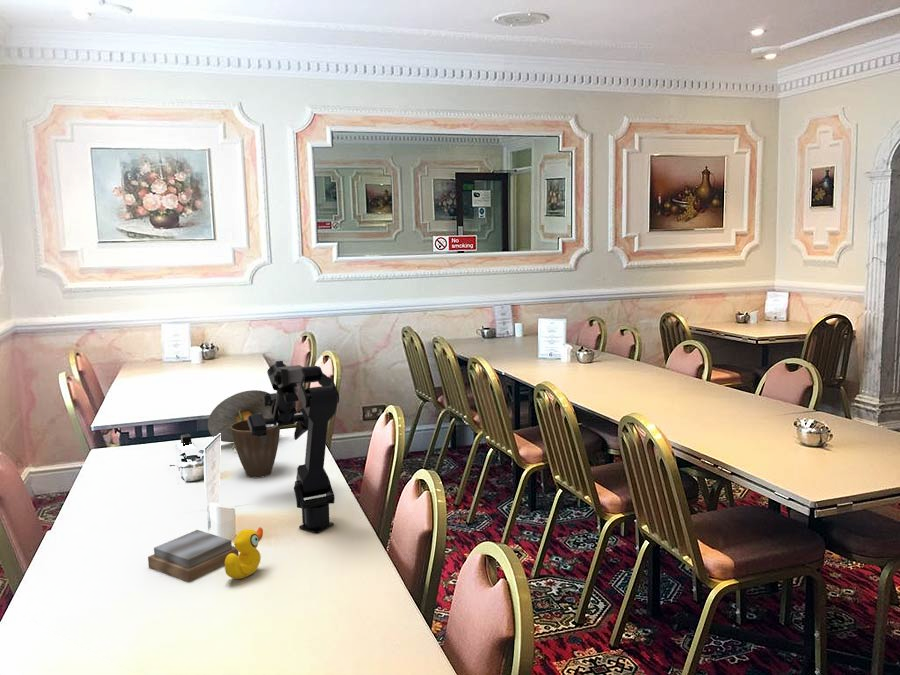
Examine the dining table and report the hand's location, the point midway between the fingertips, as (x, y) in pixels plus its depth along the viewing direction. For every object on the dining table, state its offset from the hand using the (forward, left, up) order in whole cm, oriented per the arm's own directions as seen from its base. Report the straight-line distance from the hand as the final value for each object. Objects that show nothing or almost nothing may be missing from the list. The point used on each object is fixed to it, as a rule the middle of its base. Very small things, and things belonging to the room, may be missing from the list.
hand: (279, 441), depth 219 cm
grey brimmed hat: (+43, -25, -15) cm, 52 cm away
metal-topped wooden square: (-17, +45, -15) cm, 50 cm away
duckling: (-32, +43, -15) cm, 56 cm away
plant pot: (+18, -7, -15) cm, 24 cm away
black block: (+62, -15, -16) cm, 66 cm away
